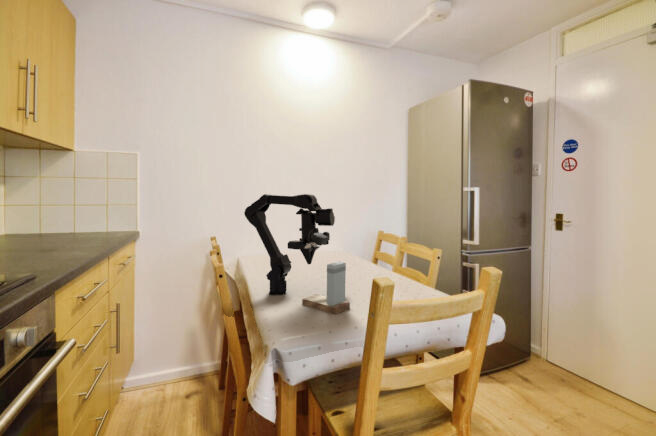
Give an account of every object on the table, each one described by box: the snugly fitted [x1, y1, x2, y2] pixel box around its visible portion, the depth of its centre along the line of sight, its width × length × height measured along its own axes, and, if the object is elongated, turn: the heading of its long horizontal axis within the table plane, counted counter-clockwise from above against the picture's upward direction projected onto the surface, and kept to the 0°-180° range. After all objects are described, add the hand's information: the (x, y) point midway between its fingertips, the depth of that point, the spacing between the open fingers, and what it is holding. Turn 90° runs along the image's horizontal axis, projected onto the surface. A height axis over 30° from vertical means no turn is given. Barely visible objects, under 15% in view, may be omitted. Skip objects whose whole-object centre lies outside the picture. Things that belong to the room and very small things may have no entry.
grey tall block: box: [326, 261, 347, 306], centre depth 109 cm, size 3×7×14 cm, turn 142°
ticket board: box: [301, 294, 351, 315], centre depth 112 cm, size 16×8×2 cm, turn 52°
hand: (309, 264), depth 123 cm, fingers closed
